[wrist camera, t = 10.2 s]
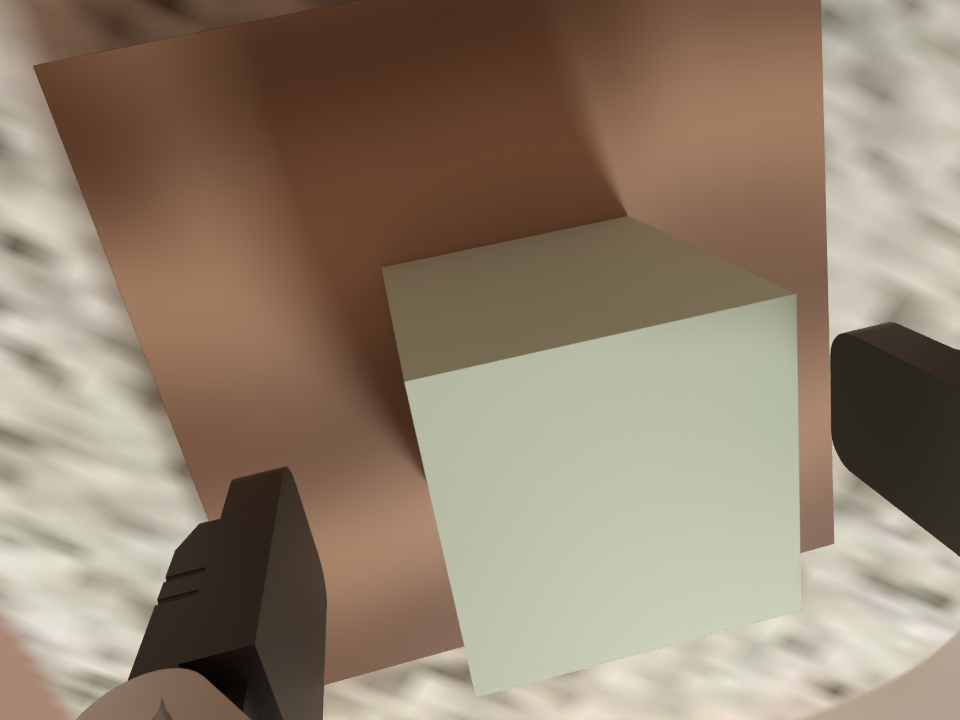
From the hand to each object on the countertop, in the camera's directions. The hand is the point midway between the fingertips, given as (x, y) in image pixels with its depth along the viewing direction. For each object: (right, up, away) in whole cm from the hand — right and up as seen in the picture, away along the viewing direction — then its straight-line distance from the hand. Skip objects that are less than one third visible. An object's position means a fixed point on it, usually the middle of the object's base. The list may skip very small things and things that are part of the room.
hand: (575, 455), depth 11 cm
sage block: (0, +1, +5) cm, 5 cm away
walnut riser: (-1, +3, +8) cm, 9 cm away
